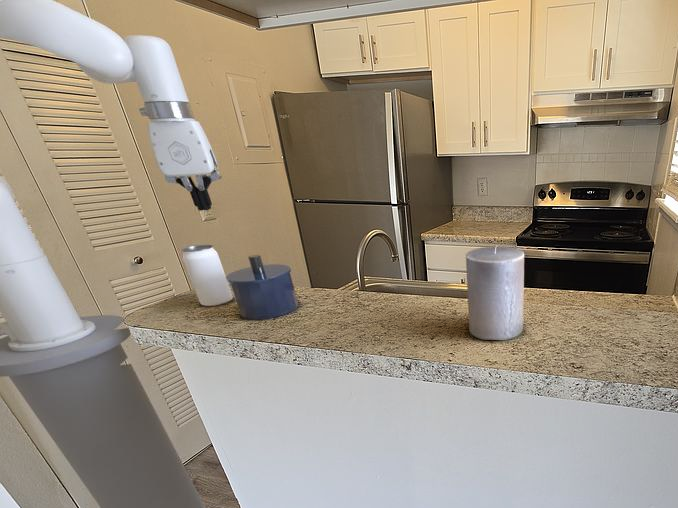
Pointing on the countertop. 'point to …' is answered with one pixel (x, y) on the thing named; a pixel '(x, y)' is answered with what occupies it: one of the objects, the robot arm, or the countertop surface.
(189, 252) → the can
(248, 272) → the pot lid
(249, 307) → the pot
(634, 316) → the countertop surface
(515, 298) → the pillar candle
